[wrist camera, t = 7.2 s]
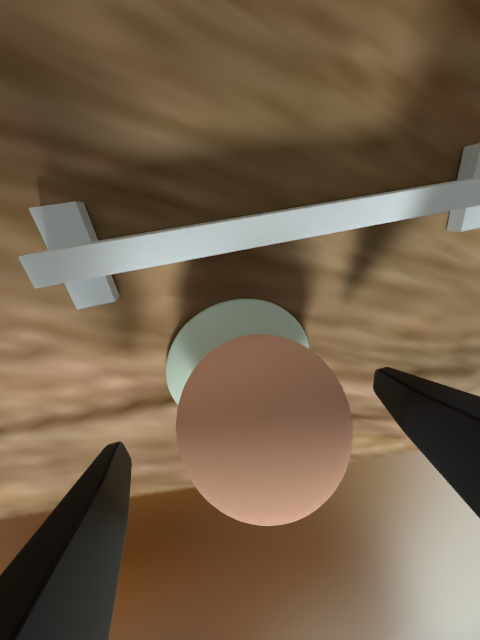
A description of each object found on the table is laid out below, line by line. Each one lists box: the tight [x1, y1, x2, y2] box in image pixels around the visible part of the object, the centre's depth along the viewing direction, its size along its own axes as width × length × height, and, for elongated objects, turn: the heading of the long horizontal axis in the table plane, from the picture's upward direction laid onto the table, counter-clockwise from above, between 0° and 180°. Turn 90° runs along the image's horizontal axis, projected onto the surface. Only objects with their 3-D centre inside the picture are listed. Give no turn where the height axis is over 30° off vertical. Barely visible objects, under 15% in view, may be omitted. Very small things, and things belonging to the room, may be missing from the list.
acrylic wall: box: [18, 143, 480, 309], centre depth 8 cm, size 16×3×2 cm, turn 99°
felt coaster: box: [166, 298, 309, 404], centre depth 10 cm, size 6×6×1 cm
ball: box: [176, 334, 353, 526], centre depth 8 cm, size 6×6×6 cm
